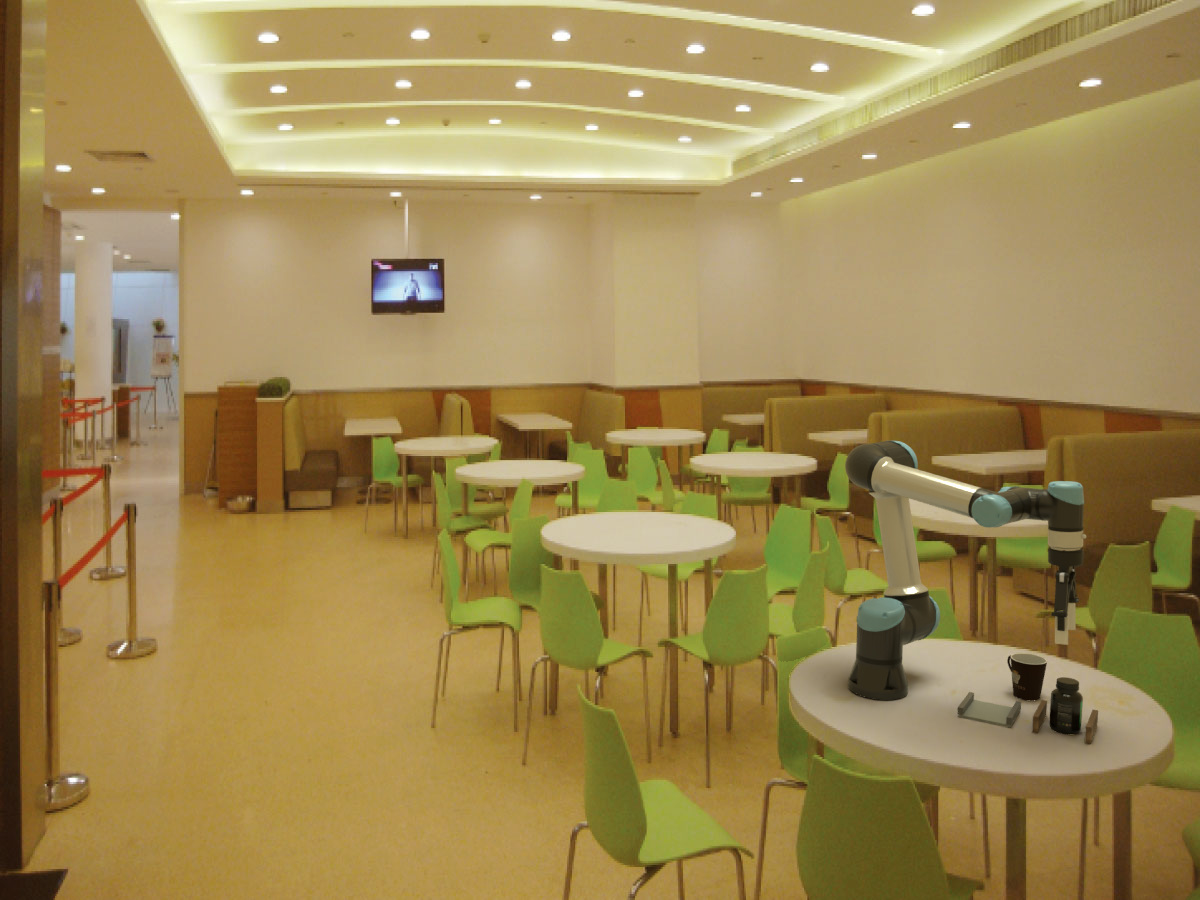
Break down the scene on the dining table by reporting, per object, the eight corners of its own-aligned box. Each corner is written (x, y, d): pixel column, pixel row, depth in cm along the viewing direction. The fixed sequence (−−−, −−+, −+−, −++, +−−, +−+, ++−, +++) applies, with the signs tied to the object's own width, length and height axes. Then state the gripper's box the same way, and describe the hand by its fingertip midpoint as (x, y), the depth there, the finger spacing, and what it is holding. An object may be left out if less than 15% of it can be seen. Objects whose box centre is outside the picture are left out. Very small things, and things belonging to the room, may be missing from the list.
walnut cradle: (1032, 732, 231) (1033, 715, 230) (1040, 715, 240) (1041, 699, 240) (1090, 744, 224) (1091, 727, 223) (1097, 726, 234) (1098, 710, 233)
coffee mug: (1048, 703, 248) (1050, 665, 247) (1012, 701, 250) (1014, 663, 248) (1037, 687, 259) (1039, 650, 258) (1003, 684, 261) (1005, 648, 260)
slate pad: (957, 716, 240) (957, 707, 239) (968, 700, 250) (969, 691, 249) (1011, 727, 233) (1011, 718, 233) (1020, 711, 243) (1021, 702, 243)
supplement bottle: (1087, 733, 230) (1090, 683, 229) (1064, 737, 228) (1067, 687, 226) (1064, 722, 237) (1067, 674, 235) (1042, 725, 234) (1045, 677, 233)
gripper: (1076, 558, 217) (1076, 652, 219) (1089, 539, 238) (1088, 625, 240) (1040, 556, 221) (1040, 648, 223) (1055, 537, 242) (1055, 622, 244)
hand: (1065, 636), depth 232 cm, fingers open, 13 cm apart
